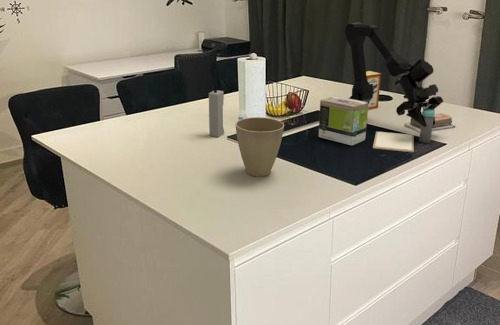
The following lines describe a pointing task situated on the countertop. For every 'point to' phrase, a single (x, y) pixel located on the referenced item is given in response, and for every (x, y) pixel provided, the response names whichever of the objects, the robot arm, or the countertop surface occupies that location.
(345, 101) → the tea box
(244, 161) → the plant pot
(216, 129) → the vintage mobile phone
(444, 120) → the packaged product
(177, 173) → the countertop surface
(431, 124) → the gray bottle teal cap
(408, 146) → the notepad
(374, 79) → the baking soda box
